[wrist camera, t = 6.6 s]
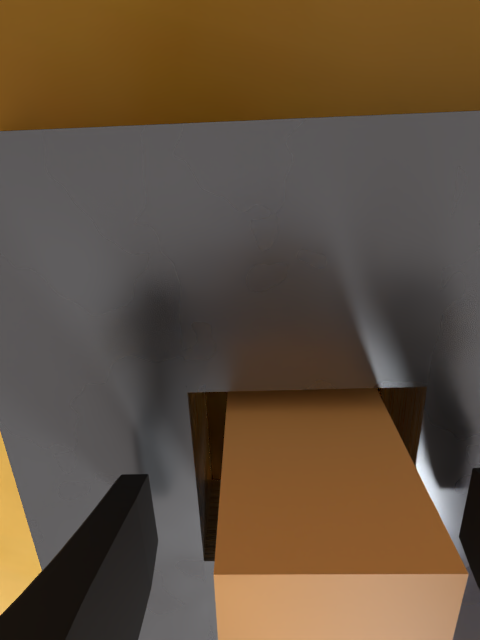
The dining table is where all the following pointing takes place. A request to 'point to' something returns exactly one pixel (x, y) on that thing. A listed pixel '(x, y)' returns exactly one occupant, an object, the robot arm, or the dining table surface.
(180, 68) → the dining table surface
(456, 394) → the gray block with hole
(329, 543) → the peach rectangular block
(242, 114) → the dining table surface
